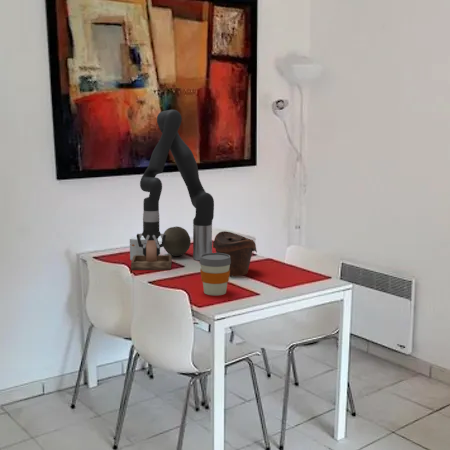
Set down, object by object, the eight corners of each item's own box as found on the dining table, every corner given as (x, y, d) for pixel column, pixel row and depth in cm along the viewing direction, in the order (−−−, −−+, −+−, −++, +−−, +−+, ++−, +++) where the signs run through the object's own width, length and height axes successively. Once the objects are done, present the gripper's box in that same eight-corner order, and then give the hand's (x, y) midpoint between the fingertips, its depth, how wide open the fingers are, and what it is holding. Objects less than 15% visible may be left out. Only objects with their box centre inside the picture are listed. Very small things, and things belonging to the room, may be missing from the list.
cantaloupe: (165, 252, 320) (164, 223, 317) (192, 253, 318) (192, 224, 315) (159, 259, 306) (159, 229, 303) (188, 260, 305) (188, 230, 302)
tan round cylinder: (157, 259, 295) (157, 238, 293) (156, 262, 290) (156, 241, 288) (146, 259, 295) (146, 238, 293) (145, 261, 290) (145, 240, 288)
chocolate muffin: (253, 279, 272) (253, 238, 269) (208, 276, 276) (208, 236, 273) (259, 269, 290) (259, 231, 287) (217, 267, 294) (217, 229, 290)
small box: (148, 257, 309) (148, 237, 307) (146, 260, 303) (145, 239, 301) (132, 257, 309) (132, 236, 307) (129, 260, 304) (129, 238, 302)
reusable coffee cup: (193, 293, 251) (193, 257, 249) (211, 286, 262) (211, 251, 259) (219, 298, 245) (219, 261, 242) (236, 291, 255) (236, 255, 252)
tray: (171, 262, 300) (171, 255, 300) (170, 269, 286) (170, 262, 286) (133, 262, 299) (133, 255, 299) (131, 270, 285) (131, 262, 285)
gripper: (167, 218, 293) (167, 253, 296) (136, 218, 292) (136, 253, 295) (166, 221, 285) (166, 257, 289) (134, 221, 285) (135, 257, 288)
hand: (151, 255), depth 292 cm, fingers closed on tan round cylinder, 5 cm apart
